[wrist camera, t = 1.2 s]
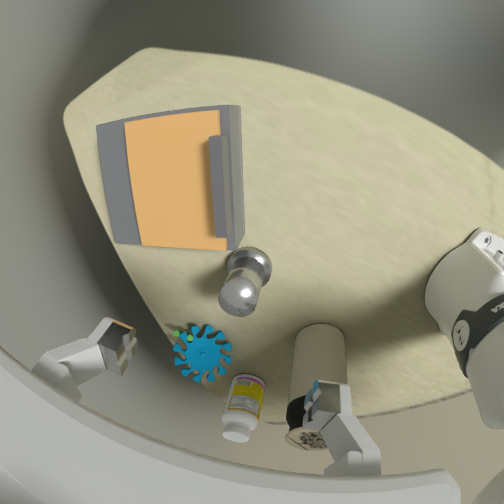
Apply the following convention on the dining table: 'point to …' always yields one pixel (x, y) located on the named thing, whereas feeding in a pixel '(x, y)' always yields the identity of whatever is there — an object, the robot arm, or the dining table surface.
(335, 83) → the dining table surface
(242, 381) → the supplement bottle
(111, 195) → the housing
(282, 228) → the dining table surface
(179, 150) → the lid
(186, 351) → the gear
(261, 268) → the silver rounded cylinder
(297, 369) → the travel mug
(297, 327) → the dining table surface
